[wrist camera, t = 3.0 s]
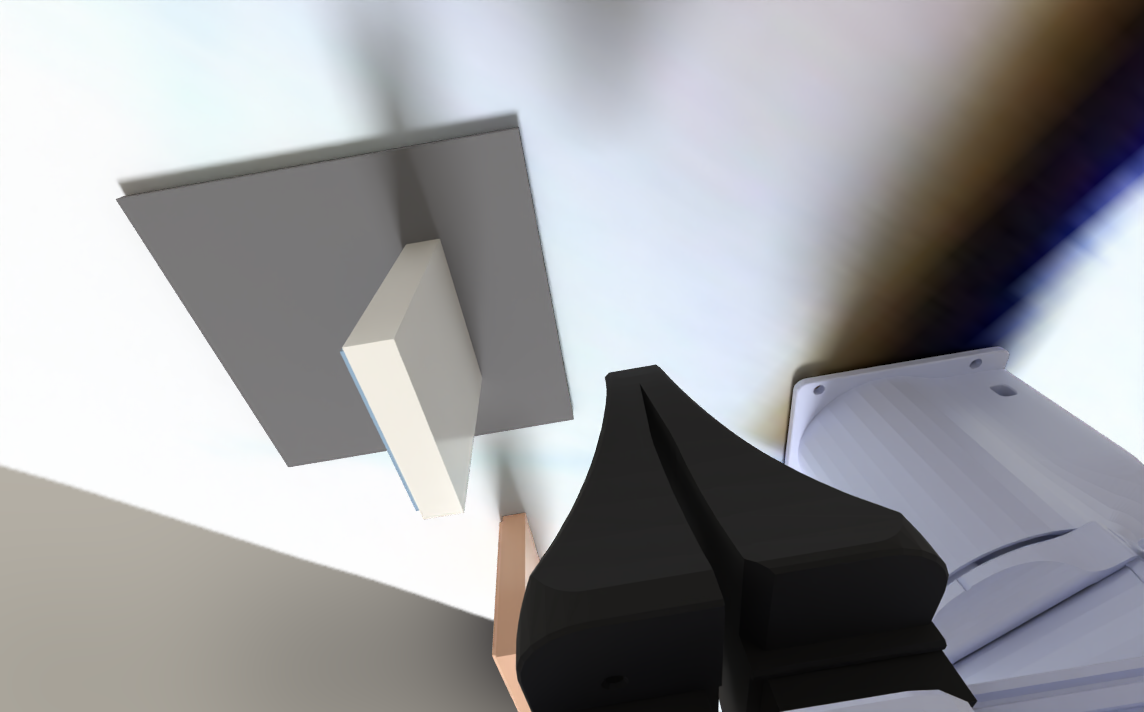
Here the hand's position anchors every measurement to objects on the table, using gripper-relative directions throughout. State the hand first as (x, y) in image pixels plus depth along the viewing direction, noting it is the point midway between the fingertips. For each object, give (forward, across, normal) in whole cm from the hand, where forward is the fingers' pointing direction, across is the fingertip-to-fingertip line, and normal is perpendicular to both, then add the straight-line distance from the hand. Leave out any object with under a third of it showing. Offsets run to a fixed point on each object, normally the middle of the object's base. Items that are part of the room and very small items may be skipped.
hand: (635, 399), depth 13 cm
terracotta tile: (+7, +6, +15) cm, 18 cm away
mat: (+7, +8, 0) cm, 11 cm away
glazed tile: (+7, +6, 0) cm, 9 cm away
